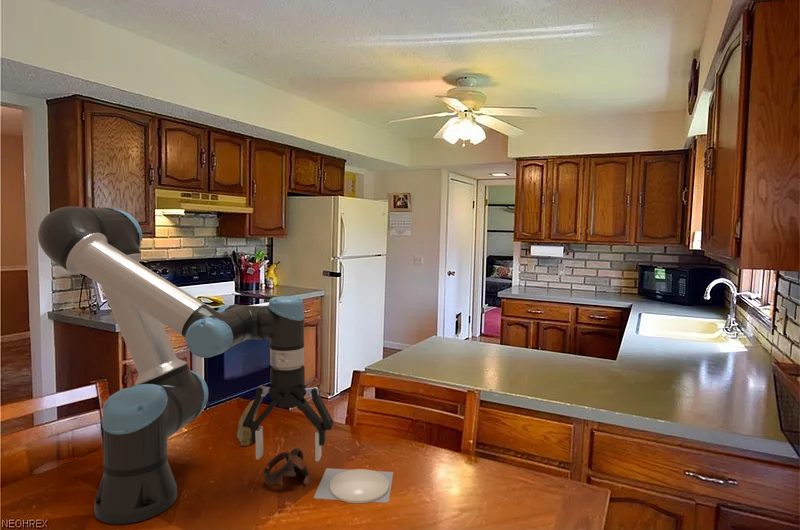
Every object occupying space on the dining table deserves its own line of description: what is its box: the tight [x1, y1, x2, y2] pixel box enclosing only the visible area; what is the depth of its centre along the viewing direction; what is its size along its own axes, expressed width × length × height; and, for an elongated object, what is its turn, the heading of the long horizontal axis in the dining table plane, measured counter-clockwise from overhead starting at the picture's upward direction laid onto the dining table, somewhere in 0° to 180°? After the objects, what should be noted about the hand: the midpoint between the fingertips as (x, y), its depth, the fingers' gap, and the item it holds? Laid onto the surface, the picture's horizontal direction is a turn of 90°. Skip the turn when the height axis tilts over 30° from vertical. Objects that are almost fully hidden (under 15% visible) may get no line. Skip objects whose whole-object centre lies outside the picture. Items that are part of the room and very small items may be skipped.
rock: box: [236, 399, 259, 447], centre depth 134 cm, size 11×9×10 cm
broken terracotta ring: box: [262, 447, 312, 487], centre depth 113 cm, size 12×10×8 cm
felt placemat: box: [313, 467, 394, 504], centre depth 111 cm, size 16×13×1 cm
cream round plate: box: [330, 468, 389, 504], centre depth 110 cm, size 13×13×1 cm
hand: (288, 457), depth 112 cm, fingers open, 13 cm apart
